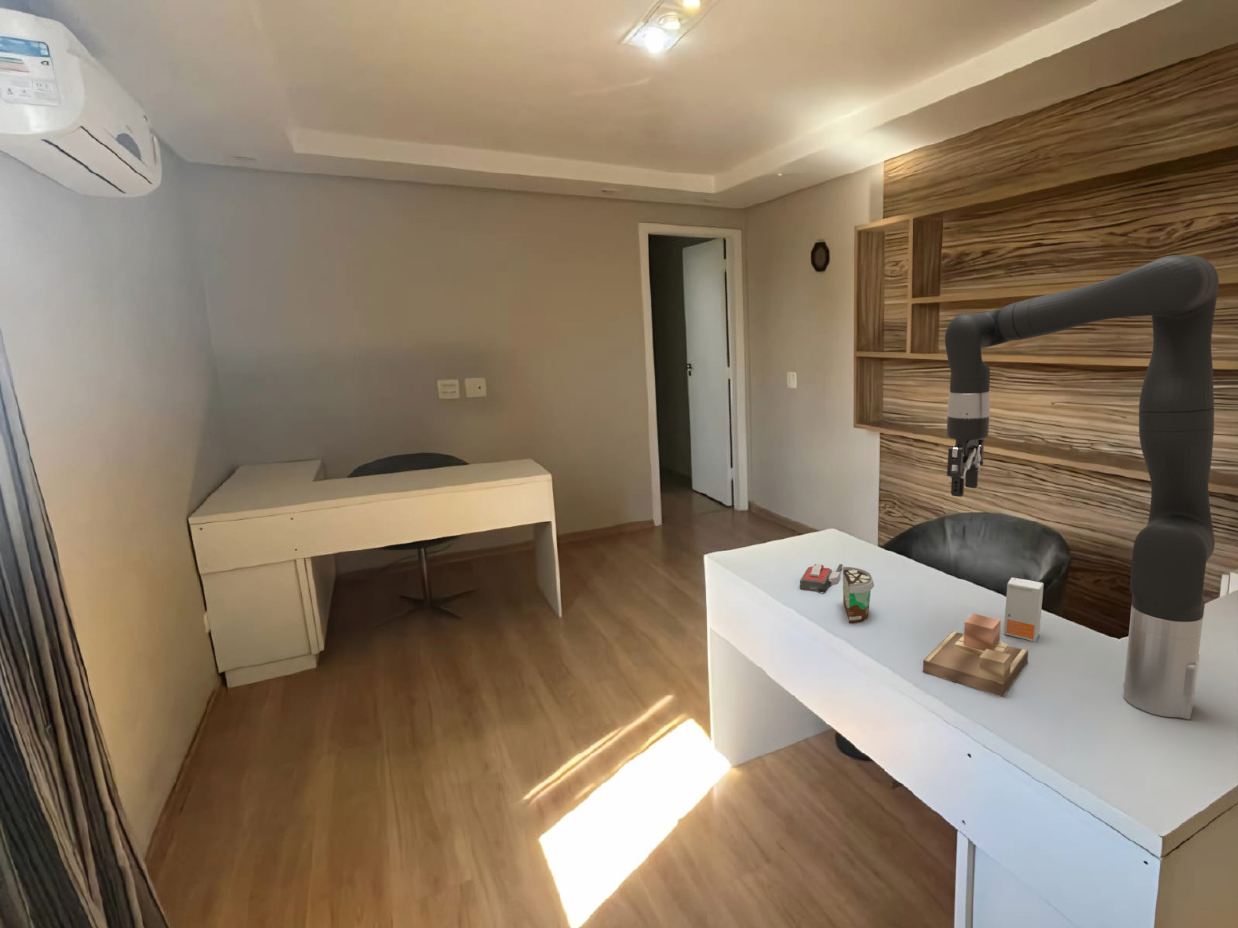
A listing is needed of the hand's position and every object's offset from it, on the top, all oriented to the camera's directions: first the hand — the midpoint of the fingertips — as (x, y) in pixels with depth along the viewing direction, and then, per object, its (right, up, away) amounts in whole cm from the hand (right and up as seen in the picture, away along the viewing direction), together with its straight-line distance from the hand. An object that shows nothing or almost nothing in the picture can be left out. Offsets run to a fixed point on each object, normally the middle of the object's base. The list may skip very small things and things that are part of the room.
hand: (964, 491), depth 134 cm
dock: (-1, -34, -7) cm, 35 cm away
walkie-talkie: (-16, -26, +42) cm, 52 cm away
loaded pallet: (0, -31, -5) cm, 32 cm away
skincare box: (+15, -31, +5) cm, 35 cm away
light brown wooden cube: (-2, -33, -15) cm, 37 cm away
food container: (-15, -30, +19) cm, 39 cm away
